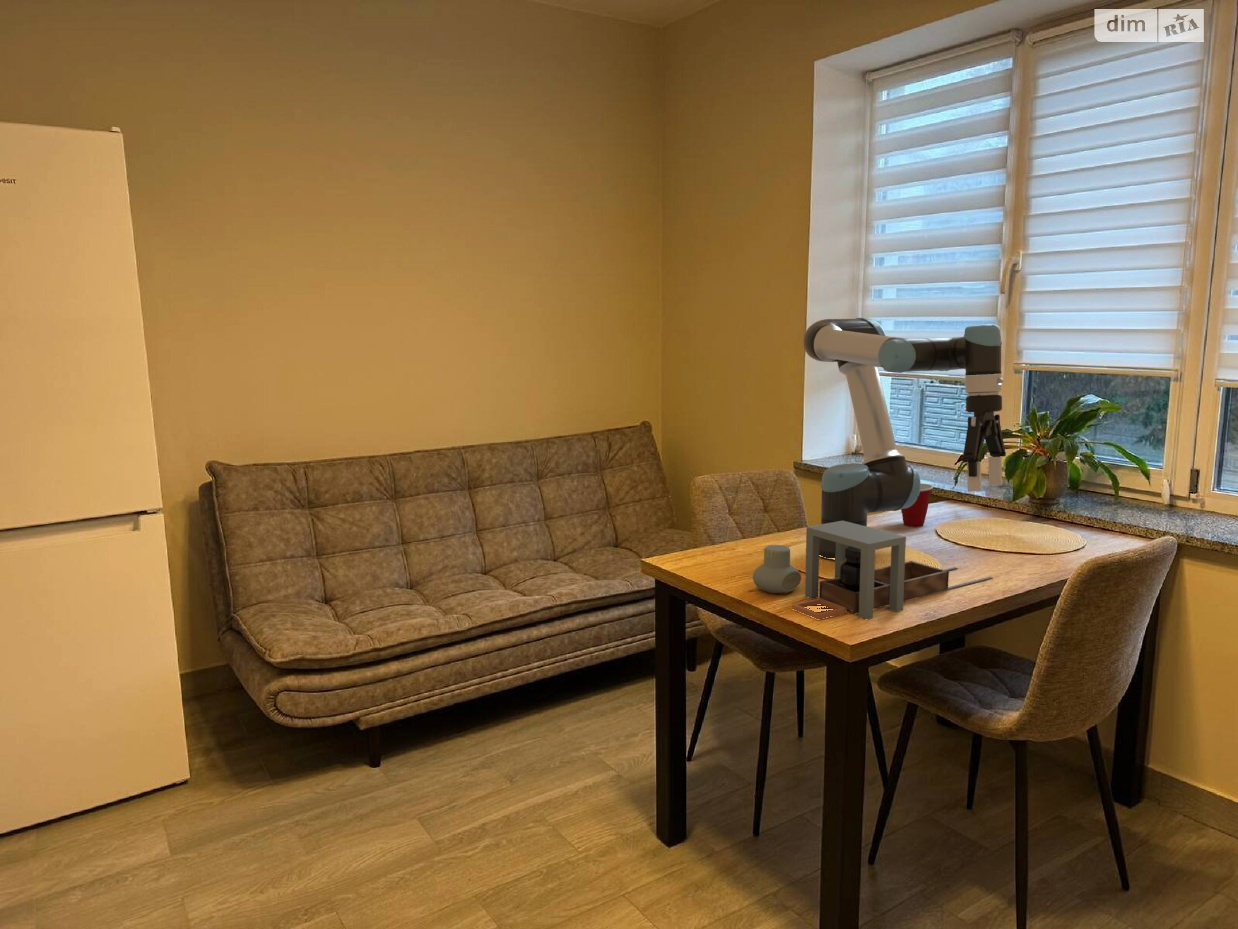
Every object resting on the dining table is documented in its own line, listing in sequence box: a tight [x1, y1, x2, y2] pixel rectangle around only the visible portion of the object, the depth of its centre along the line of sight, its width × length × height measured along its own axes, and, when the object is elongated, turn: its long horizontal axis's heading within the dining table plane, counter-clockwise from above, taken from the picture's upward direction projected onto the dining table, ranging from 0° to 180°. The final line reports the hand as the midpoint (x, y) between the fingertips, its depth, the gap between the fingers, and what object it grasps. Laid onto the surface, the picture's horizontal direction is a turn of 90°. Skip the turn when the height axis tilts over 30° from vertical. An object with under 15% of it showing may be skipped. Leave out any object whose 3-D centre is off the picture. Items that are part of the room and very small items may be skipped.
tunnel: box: [804, 521, 994, 620], centre depth 197 cm, size 46×18×16 cm, turn 121°
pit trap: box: [791, 597, 848, 620], centre depth 184 cm, size 8×8×1 cm
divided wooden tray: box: [818, 560, 950, 612], centre depth 194 cm, size 29×11×4 cm, turn 121°
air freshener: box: [752, 544, 802, 594], centre depth 198 cm, size 11×8×10 cm
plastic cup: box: [900, 482, 934, 528], centre depth 258 cm, size 11×11×12 cm
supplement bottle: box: [839, 547, 861, 592], centre depth 188 cm, size 7×7×12 cm
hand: (985, 488), depth 197 cm, fingers open, 13 cm apart
